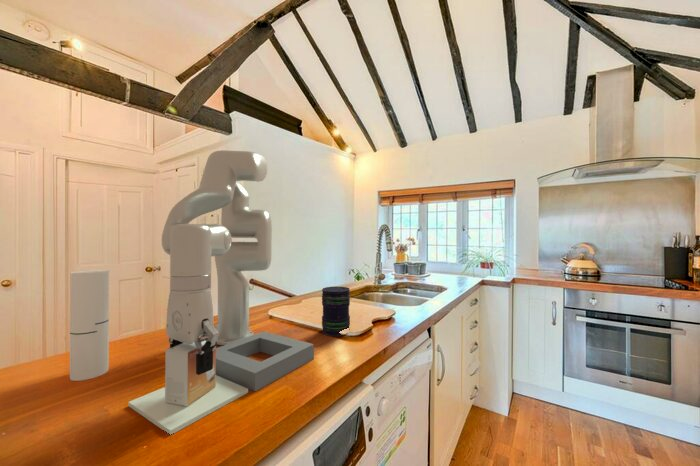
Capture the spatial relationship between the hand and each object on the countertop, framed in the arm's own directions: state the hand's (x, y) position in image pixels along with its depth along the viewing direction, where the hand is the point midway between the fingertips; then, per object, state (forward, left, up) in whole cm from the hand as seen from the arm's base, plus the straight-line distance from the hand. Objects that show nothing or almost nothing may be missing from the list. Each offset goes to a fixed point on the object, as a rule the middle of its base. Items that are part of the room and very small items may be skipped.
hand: (190, 366), depth 61 cm
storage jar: (+1, +51, -7) cm, 51 cm away
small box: (0, 0, -6) cm, 6 cm away
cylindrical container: (-32, -7, -7) cm, 33 cm away
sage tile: (0, 0, -7) cm, 7 cm away
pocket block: (-1, +19, -7) cm, 20 cm away
